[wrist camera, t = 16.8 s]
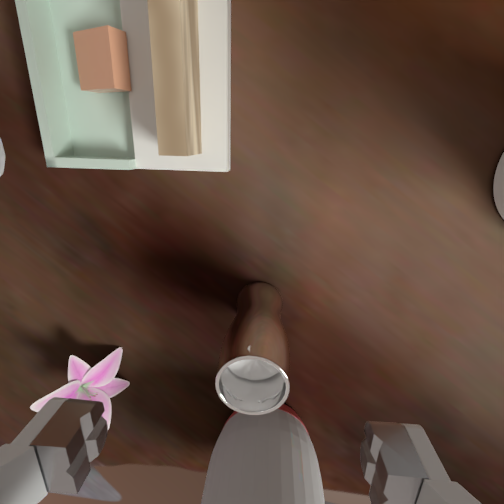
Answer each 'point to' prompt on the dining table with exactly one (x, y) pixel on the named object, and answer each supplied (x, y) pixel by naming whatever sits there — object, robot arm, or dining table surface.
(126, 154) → the box
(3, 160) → the french press
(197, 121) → the bar
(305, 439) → the citrus juicer
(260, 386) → the beer glass
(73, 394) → the lily
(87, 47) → the terracotta tile
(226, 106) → the plate
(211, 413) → the dining table surface
